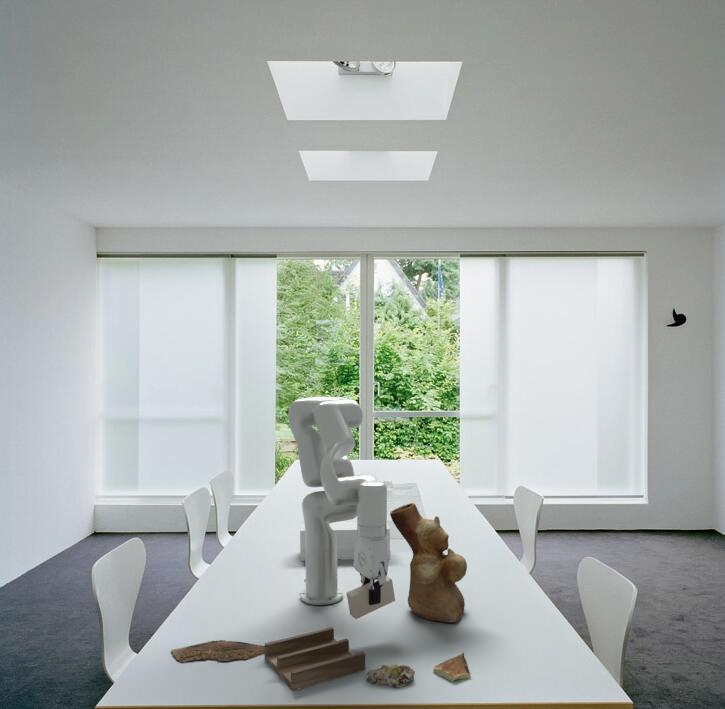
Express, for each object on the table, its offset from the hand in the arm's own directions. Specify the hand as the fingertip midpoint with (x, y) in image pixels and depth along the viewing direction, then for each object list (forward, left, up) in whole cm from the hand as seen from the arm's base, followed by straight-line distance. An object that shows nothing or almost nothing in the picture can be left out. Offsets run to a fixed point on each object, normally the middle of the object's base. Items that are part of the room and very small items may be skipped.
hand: (371, 600), depth 161 cm
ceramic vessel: (-5, +22, -9) cm, 25 cm away
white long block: (-63, +27, -10) cm, 69 cm away
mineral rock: (+20, -7, -10) cm, 24 cm away
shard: (+24, +7, -10) cm, 27 cm away
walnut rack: (+6, -19, -9) cm, 22 cm away
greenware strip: (0, +1, -2) cm, 2 cm away
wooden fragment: (-11, -35, -10) cm, 38 cm away
